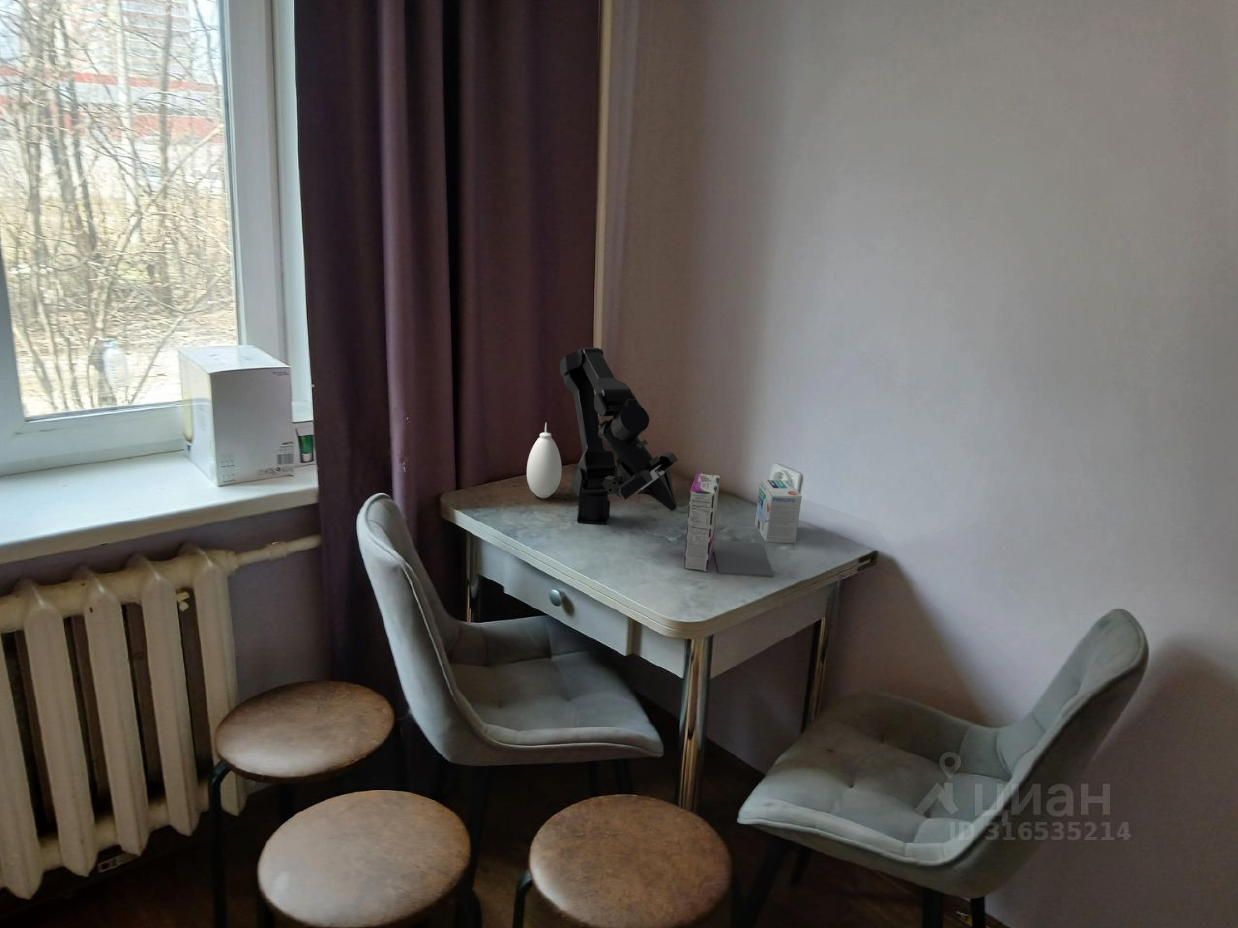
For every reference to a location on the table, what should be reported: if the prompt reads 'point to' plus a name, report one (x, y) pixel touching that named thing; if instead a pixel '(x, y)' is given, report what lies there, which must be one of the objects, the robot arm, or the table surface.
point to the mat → (741, 558)
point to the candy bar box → (701, 522)
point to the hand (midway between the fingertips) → (674, 509)
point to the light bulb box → (778, 511)
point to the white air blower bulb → (544, 466)
